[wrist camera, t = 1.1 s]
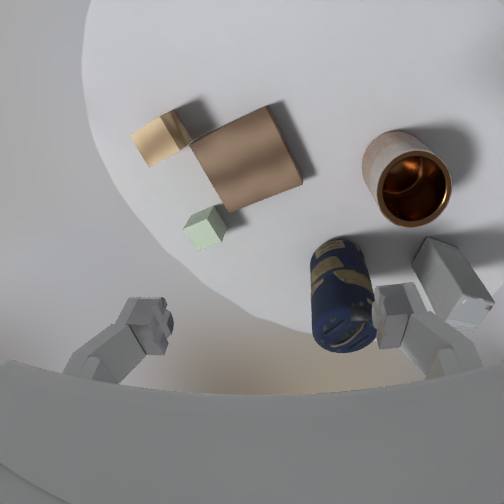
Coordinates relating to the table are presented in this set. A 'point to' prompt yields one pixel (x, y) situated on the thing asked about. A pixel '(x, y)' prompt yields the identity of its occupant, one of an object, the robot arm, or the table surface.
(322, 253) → the canister
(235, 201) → the base plate
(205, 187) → the table surface
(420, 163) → the planter
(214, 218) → the green cube
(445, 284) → the skincare box
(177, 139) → the oak cube
